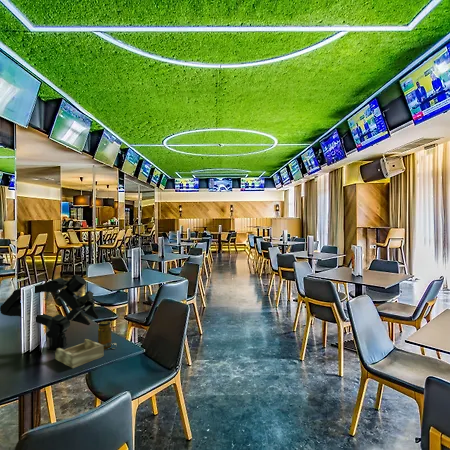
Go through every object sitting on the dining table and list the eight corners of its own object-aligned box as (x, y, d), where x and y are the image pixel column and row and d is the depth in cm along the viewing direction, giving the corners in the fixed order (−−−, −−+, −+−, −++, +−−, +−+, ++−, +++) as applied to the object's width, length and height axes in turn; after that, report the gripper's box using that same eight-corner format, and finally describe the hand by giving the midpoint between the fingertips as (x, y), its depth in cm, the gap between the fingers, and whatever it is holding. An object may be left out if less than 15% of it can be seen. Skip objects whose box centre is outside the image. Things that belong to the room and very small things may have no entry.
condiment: (98, 345, 150) (98, 320, 150) (116, 343, 152) (116, 319, 152) (96, 351, 143) (95, 325, 143) (115, 349, 145) (115, 324, 145)
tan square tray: (55, 359, 135) (55, 347, 135) (85, 348, 146) (85, 338, 146) (72, 368, 126) (72, 356, 126) (103, 356, 138) (103, 345, 138)
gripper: (72, 291, 139) (97, 315, 138) (90, 283, 157) (112, 304, 157) (55, 308, 139) (80, 332, 139) (75, 298, 157) (97, 319, 157)
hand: (93, 321), depth 148 cm, fingers open, 9 cm apart
